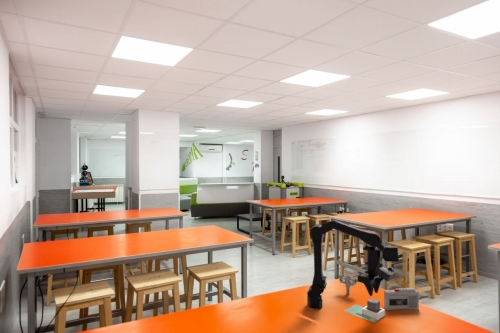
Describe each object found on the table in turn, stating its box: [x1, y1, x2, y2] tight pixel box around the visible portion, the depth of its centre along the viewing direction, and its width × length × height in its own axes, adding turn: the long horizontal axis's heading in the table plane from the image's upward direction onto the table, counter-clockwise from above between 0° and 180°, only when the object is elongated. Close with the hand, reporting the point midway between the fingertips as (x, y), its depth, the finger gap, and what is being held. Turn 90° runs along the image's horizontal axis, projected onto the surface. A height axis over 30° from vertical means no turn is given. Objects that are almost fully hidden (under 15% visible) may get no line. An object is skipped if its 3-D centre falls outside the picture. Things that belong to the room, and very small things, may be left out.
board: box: [343, 304, 387, 324], centre depth 147 cm, size 15×11×1 cm
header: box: [362, 305, 386, 321], centre depth 146 cm, size 8×7×3 cm
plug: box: [366, 298, 381, 313], centre depth 146 cm, size 4×4×6 cm
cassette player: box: [383, 287, 420, 311], centre depth 152 cm, size 16×3×10 cm, turn 94°
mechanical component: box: [338, 274, 359, 295], centre depth 169 cm, size 3×10×10 cm, turn 43°
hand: (373, 294), depth 146 cm, fingers open, 5 cm apart
